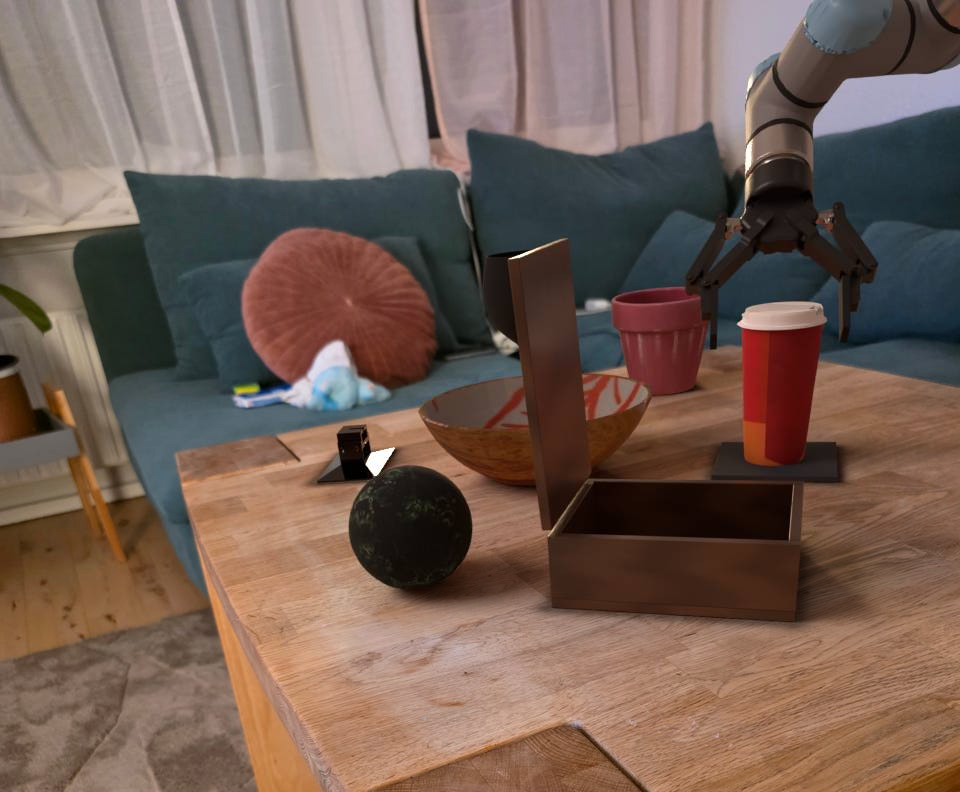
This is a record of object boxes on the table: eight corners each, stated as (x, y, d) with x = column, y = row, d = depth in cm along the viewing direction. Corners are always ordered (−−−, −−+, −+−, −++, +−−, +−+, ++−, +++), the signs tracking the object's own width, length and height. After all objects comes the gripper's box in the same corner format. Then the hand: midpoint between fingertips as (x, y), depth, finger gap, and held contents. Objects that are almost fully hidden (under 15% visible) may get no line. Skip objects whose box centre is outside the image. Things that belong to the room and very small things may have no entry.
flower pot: (670, 403, 120) (671, 303, 114) (593, 393, 130) (590, 300, 124) (733, 382, 128) (737, 287, 122) (656, 373, 138) (656, 285, 132)
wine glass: (477, 407, 129) (464, 258, 120) (529, 391, 135) (519, 248, 125) (527, 415, 122) (517, 257, 112) (579, 399, 127) (573, 247, 118)
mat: (835, 447, 97) (836, 441, 96) (837, 482, 87) (837, 476, 87) (722, 447, 101) (722, 441, 100) (711, 480, 91) (711, 475, 90)
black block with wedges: (376, 481, 102) (369, 441, 100) (314, 485, 103) (306, 446, 100) (395, 449, 113) (389, 413, 110) (339, 453, 114) (332, 417, 111)
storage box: (798, 548, 74) (804, 480, 71) (794, 622, 62) (800, 545, 60) (589, 541, 79) (587, 478, 77) (551, 607, 68) (547, 536, 65)
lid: (568, 238, 68) (558, 239, 68) (518, 257, 57) (507, 259, 57) (591, 473, 76) (582, 473, 77) (552, 530, 65) (541, 531, 65)
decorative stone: (355, 617, 70) (334, 495, 65) (361, 568, 79) (343, 457, 74) (482, 602, 70) (469, 480, 65) (474, 555, 79) (462, 444, 74)
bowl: (630, 512, 85) (629, 429, 81) (391, 506, 93) (379, 430, 89) (669, 438, 106) (669, 369, 102) (470, 439, 114) (464, 375, 110)
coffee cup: (825, 449, 94) (838, 299, 87) (801, 472, 88) (814, 314, 82) (747, 443, 99) (754, 300, 92) (720, 465, 93) (725, 314, 86)
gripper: (889, 194, 103) (895, 353, 97) (669, 214, 109) (662, 364, 103) (902, 141, 96) (910, 309, 90) (667, 166, 102) (659, 324, 96)
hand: (777, 339), depth 97 cm, fingers open, 13 cm apart
